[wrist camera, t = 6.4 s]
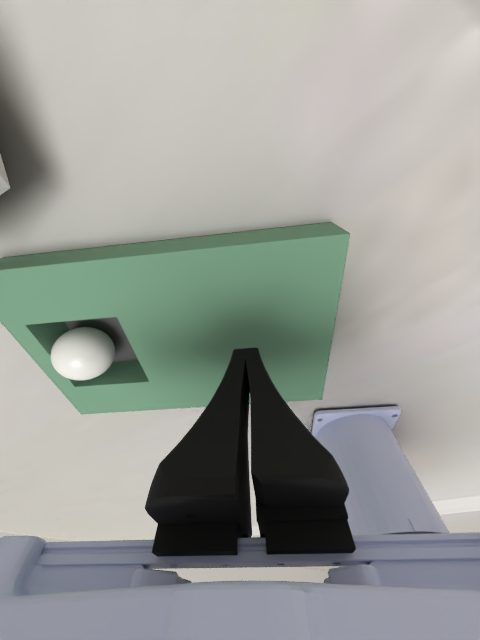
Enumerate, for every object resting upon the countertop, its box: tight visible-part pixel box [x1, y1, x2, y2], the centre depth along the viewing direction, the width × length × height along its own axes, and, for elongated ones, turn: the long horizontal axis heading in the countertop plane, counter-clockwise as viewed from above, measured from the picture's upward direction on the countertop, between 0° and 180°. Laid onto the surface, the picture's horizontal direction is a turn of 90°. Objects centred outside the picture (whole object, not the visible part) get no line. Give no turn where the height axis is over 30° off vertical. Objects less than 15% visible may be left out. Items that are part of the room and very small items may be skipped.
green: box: [0, 222, 350, 414], centre depth 15 cm, size 12×19×2 cm, turn 96°
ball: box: [51, 327, 115, 380], centre depth 15 cm, size 4×4×4 cm
